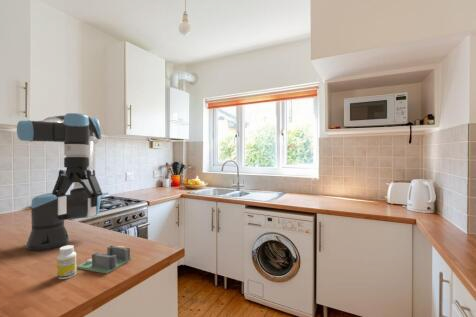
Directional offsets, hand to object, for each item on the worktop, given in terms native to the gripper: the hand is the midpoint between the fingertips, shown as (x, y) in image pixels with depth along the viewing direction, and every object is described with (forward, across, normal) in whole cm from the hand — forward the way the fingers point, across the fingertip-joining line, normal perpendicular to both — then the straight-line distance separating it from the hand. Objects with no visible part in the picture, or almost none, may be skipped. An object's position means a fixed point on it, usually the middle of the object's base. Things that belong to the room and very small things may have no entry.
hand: (76, 215), depth 87 cm
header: (+19, +10, +6) cm, 22 cm away
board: (+19, +6, +6) cm, 21 cm away
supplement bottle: (+20, +1, -5) cm, 20 cm away
